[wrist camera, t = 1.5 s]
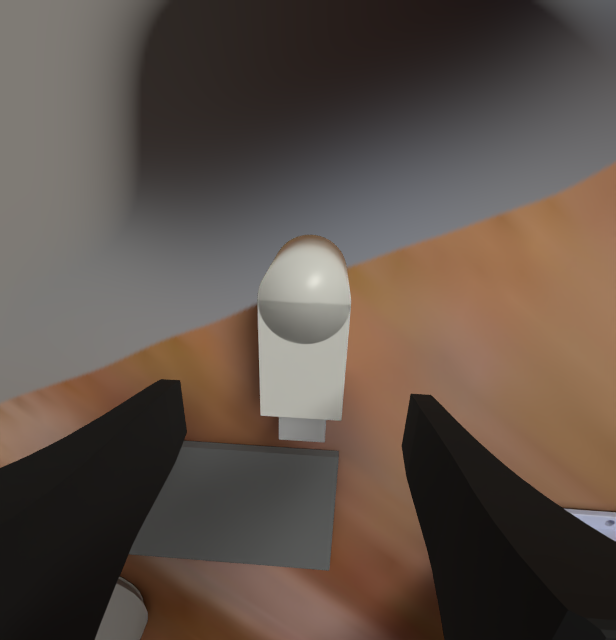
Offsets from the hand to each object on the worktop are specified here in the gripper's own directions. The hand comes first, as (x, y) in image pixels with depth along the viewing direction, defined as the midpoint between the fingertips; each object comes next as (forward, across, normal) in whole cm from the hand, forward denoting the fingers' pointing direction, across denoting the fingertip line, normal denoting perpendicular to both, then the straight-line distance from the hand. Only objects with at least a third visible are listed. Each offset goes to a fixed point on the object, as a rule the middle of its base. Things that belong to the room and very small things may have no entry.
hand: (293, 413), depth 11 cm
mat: (+7, +5, +13) cm, 16 cm away
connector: (+7, 0, 0) cm, 7 cm away
